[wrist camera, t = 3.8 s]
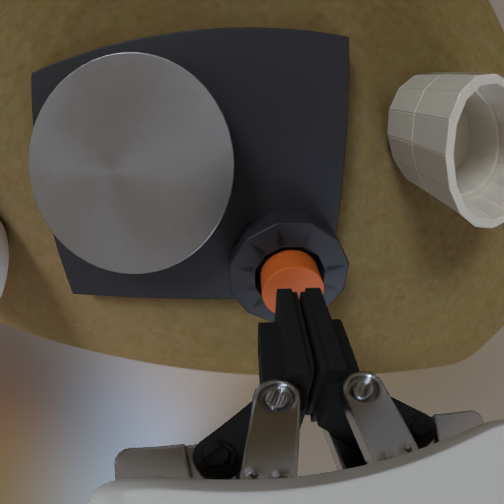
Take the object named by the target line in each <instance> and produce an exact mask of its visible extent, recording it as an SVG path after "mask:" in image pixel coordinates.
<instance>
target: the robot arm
mask: <svg viewBox="0 0 504 504" xmlns="http://www.w3.org/2000/svg"><path fill="white" fill-rule="evenodd" d="M258 360H259V378H260V385H259V386H258V387H257V388H256V389H255V392H254V395H253V401H252V402H250V403H249V404H248V405H247V406H246V407H245V408H243V409H242V410H241V411H240V412H238V413H237V414H236V415H235V416H233V417H232V418H231V419H230V420H228V421H227V422H226V423H225V424H223V425H222V426H221V427H219V428H218V429H217V430H216V431H214V432H213V433H212V434H210V435H209V436H208V437H206V438H205V439H204V440H202V441H201V442H200V443H199V444H197V445H189V446H185V445H184V444H180V445H170V446H161V447H160V446H159V447H144V448H129V449H124V450H123V451H122V452H120V453H119V454H118V455H117V457H116V459H115V478H116V480H115V481H111V482H108V483H105V484H103V485H101V486H99V487H98V488H97V489H96V490H95V491H94V492H93V493H92V495H91V497H90V499H89V501H88V503H87V504H504V420H494V421H489V422H486V423H484V422H483V419H482V416H481V415H480V414H479V413H477V412H476V411H463V412H454V413H445V414H435V415H433V417H429V416H428V415H426V414H425V413H422V412H420V411H418V410H416V409H414V408H412V407H410V406H408V405H406V404H404V403H402V402H400V401H398V400H396V399H394V398H392V397H390V395H389V393H388V391H387V389H386V388H385V386H384V384H383V382H382V381H381V380H380V378H379V377H377V376H376V375H375V374H373V373H370V372H366V371H359V368H358V365H357V362H356V360H355V357H354V354H353V351H352V348H351V346H350V343H349V340H348V337H347V335H346V332H345V329H344V327H343V324H342V322H341V320H340V319H333V320H332V319H331V316H330V314H329V311H328V308H327V305H326V302H325V299H324V297H323V294H322V291H321V289H320V288H305V292H300V297H299V298H298V294H297V292H292V289H291V288H285V289H277V292H276V307H275V321H274V322H269V323H258ZM305 414H306V415H310V416H311V421H312V422H315V421H317V423H318V426H320V427H321V428H323V429H324V435H325V437H326V440H327V442H328V445H329V448H330V451H331V453H332V456H333V459H334V461H335V464H336V467H337V469H338V471H333V472H327V473H321V474H313V475H306V476H297V470H298V452H299V430H300V427H301V424H302V421H303V418H304V415H305Z"/></svg>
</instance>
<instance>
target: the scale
mask: <svg viewBox="0 0 504 504" xmlns="http://www.w3.org/2000/svg"><path fill="white" fill-rule="evenodd" d="M121 52H140V53H147V54H153V55H156V56H159V57H163V58H166V59H168V60H170V61H172V62H174V63H176V64H178V65H180V66H182V67H184V68H185V69H186V70H188V71H189V72H191V73H192V74H193V75H195V76H196V77H197V78H198V79H199V80H200V81H201V82H202V83H203V84H204V85H205V86H206V87H207V88H208V90H209V91H210V92H211V94H212V95H213V96H214V98H215V99H216V100H217V102H218V104H219V106H220V108H221V109H222V111H223V113H224V115H225V118H226V121H227V123H228V126H229V129H230V133H231V137H232V142H233V147H234V160H235V165H234V180H233V185H232V191H231V196H230V199H229V202H228V205H227V208H226V211H225V213H224V215H223V217H222V219H221V221H220V223H219V225H218V226H217V228H216V229H215V231H214V232H213V234H212V235H211V236H210V237H209V239H208V240H207V241H206V242H205V243H204V244H203V245H202V246H201V247H200V248H199V249H198V250H197V251H196V252H194V253H193V254H192V255H191V256H189V257H188V258H186V259H185V260H183V261H181V262H180V263H177V264H175V265H173V266H171V267H169V268H166V269H163V270H160V271H156V272H150V273H144V274H126V273H118V272H113V271H108V270H105V269H102V268H99V267H97V266H95V265H92V264H90V263H88V262H86V261H85V260H83V259H81V258H80V257H78V256H77V255H75V254H74V253H73V252H71V251H70V250H69V249H68V248H66V247H65V246H64V245H63V244H62V243H61V242H60V241H59V240H58V238H57V237H56V236H55V235H54V234H53V235H54V238H55V242H56V245H57V248H58V252H59V255H60V258H61V261H62V264H63V267H64V270H65V273H66V276H67V279H68V281H69V284H70V287H71V289H72V292H73V294H85V295H102V296H121V297H144V298H178V299H237V300H238V301H239V302H240V304H241V305H242V306H243V308H244V309H245V310H246V311H247V312H248V313H251V314H253V315H255V316H258V317H260V318H263V319H265V320H268V321H270V322H274V321H275V313H273V312H272V311H270V310H269V309H268V308H267V307H266V305H265V304H264V302H263V299H262V290H261V276H260V275H261V270H262V267H263V265H264V263H265V262H266V261H267V260H268V259H269V258H270V257H271V256H272V255H274V254H276V253H278V252H280V251H284V250H299V251H302V252H305V253H307V254H308V255H310V256H311V257H312V258H313V259H314V261H315V263H316V265H317V267H318V270H319V273H320V275H321V278H322V280H323V284H324V293H323V297H324V299H325V302H326V305H327V307H328V306H329V305H330V304H331V303H332V302H333V301H334V299H335V298H336V297H337V296H338V295H339V294H340V293H341V291H342V290H343V289H344V285H345V280H346V276H347V271H348V266H349V262H348V260H347V258H346V255H345V253H344V251H343V248H342V246H341V244H340V242H339V239H338V238H337V236H336V229H337V222H338V214H339V206H340V197H341V188H342V179H343V169H344V157H345V145H346V131H347V113H348V87H349V37H347V36H341V35H335V34H329V33H321V32H314V31H305V30H294V29H279V28H217V29H203V30H192V31H183V32H175V33H168V34H161V35H155V36H150V37H144V38H139V39H135V40H130V41H126V42H121V43H117V44H113V45H110V46H106V47H102V48H99V49H95V50H92V51H89V52H86V53H82V54H79V55H76V56H74V57H71V58H68V59H65V60H62V61H60V62H57V63H55V64H52V65H50V66H47V67H45V68H42V69H40V70H38V71H35V72H33V73H32V79H31V83H32V113H33V126H34V125H35V122H36V119H37V117H38V115H39V113H40V111H41V109H42V107H43V105H44V103H45V102H46V100H47V98H48V97H49V95H50V94H51V93H52V92H53V90H54V89H55V88H56V87H57V86H58V84H59V83H60V82H61V81H63V80H64V79H65V78H66V77H67V76H68V75H69V74H70V73H72V72H73V71H75V70H76V69H77V68H79V67H80V66H82V65H84V64H86V63H88V62H90V61H92V60H94V59H97V58H100V57H103V56H106V55H110V54H115V53H121Z"/></svg>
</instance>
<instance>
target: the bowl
mask: <svg viewBox="0 0 504 504" xmlns="http://www.w3.org/2000/svg"><path fill="white" fill-rule="evenodd" d="M387 135H388V140H389V144H390V148H391V152H392V157H393V159H394V162H395V163H396V165H397V166H398V168H399V169H400V171H401V172H402V174H403V175H404V177H405V178H406V179H407V180H408V181H410V182H411V183H413V184H414V185H415V186H417V187H418V188H420V189H421V190H423V191H424V192H426V193H428V194H429V195H431V196H432V197H434V198H435V199H437V200H438V201H440V202H441V203H443V204H444V205H446V206H447V207H448V208H450V209H451V210H453V211H454V212H456V213H457V214H458V215H460V216H461V217H463V218H464V219H465V220H467V221H468V222H469V223H471V224H472V225H473V226H475V227H482V228H494V227H496V226H498V225H500V224H502V223H504V78H502V77H501V76H499V75H497V74H494V73H475V72H435V73H426V74H420V75H415V76H413V77H412V78H411V79H409V80H408V81H407V82H406V83H404V84H403V85H402V86H401V87H400V88H399V89H398V91H397V93H396V95H395V97H394V100H393V102H392V104H391V106H390V108H389V116H388V130H387Z"/></svg>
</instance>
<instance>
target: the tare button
mask: <svg viewBox="0 0 504 504" xmlns="http://www.w3.org/2000/svg"><path fill="white" fill-rule="evenodd" d="M260 276H261V290H262V299H263V302H264V304H265V305H266V307H267V308H268V309H269V310H270V311H272V312H273V313H275V307H276V292H277V289H285V288H291V289H292V292H297V294H298V298H299V297H300V292H305V288H320V289H321V291H322V294H323V293H324V284H323V280H322V278H321V275H320V273H319V270H318V267H317V265H316V263H315V261H314V259H313V258H312V257H311V256H310V255H308V254H307V253H305V252H302V251H299V250H284V251H280V252H278V253H276V254H274V255H272V256H271V257H270V258H269V259H268V260H267V261H266V262H265V263H264V265H263V267H262V270H261V275H260Z"/></svg>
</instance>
